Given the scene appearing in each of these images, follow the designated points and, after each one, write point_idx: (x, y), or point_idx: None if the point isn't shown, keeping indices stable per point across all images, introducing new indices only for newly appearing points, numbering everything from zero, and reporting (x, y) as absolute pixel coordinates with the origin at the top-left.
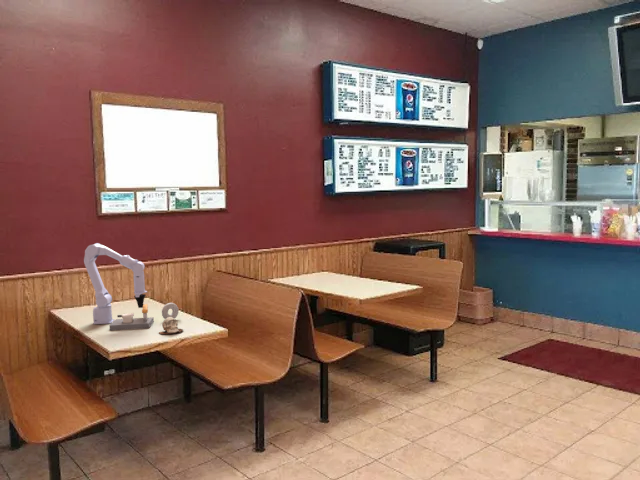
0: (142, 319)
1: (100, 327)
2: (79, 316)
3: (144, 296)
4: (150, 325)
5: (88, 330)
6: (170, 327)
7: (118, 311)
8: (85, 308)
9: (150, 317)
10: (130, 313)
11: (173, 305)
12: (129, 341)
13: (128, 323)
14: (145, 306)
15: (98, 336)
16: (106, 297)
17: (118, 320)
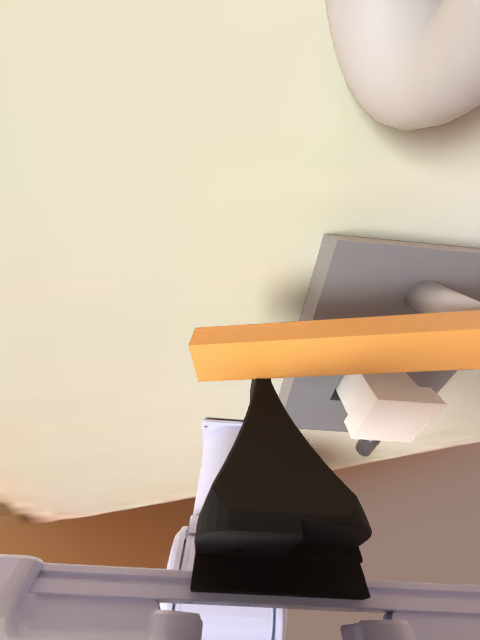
0: (366, 316)
1: (312, 440)
2: (123, 487)
3: (341, 505)
4: (457, 246)
5: (338, 459)
6: None
7: (29, 420)
8: (8, 487)
9: (329, 265)
10: (378, 412)
11: None
12: None
13: (423, 377)
14: (326, 354)
15: (462, 432)
16: (260, 620)
17: (311, 418)
